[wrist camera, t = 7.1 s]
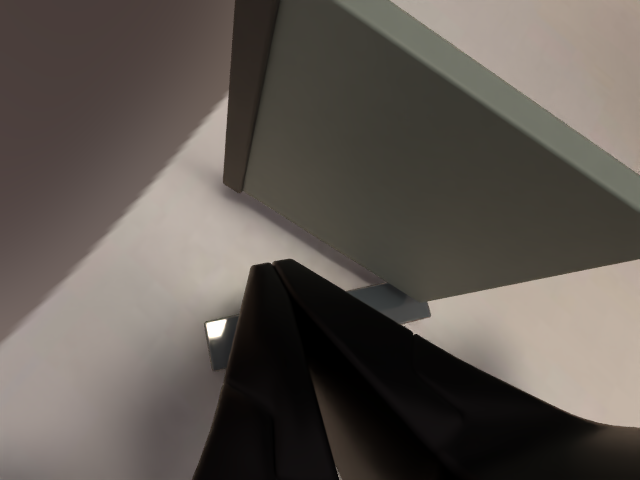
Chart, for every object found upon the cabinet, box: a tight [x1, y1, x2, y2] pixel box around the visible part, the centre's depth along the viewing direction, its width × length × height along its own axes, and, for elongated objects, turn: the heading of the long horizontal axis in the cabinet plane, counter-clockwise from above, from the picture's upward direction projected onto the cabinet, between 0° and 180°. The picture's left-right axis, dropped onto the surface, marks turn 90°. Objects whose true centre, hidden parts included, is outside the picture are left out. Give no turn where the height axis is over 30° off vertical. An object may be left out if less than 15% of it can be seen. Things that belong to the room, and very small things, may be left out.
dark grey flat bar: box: [204, 282, 431, 371], centre depth 15 cm, size 2×8×1 cm, turn 104°
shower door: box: [223, 0, 640, 303], centre depth 10 cm, size 1×8×9 cm, turn 60°
